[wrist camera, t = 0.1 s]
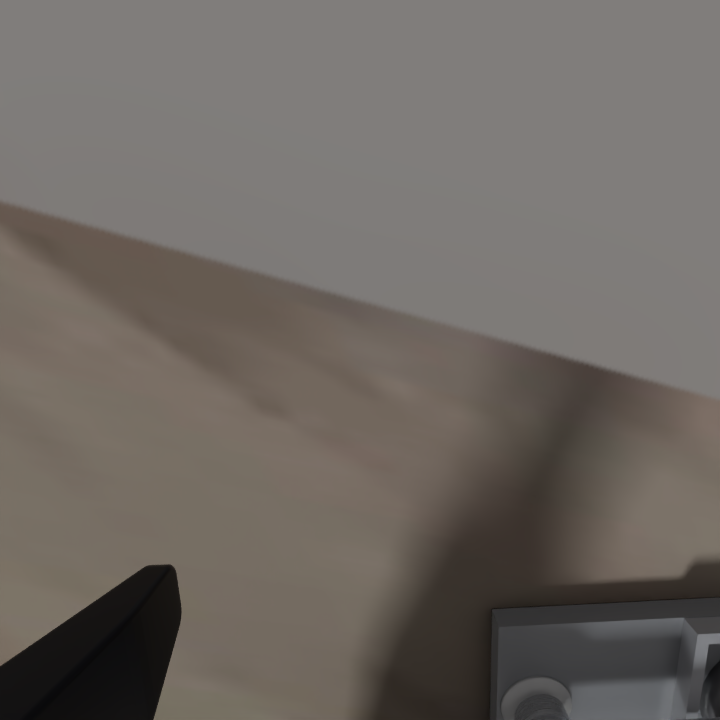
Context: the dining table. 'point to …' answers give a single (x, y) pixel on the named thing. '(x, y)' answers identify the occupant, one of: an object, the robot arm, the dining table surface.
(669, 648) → the socket base
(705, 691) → the plug
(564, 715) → the pivoting lever handle
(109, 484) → the dining table surface
